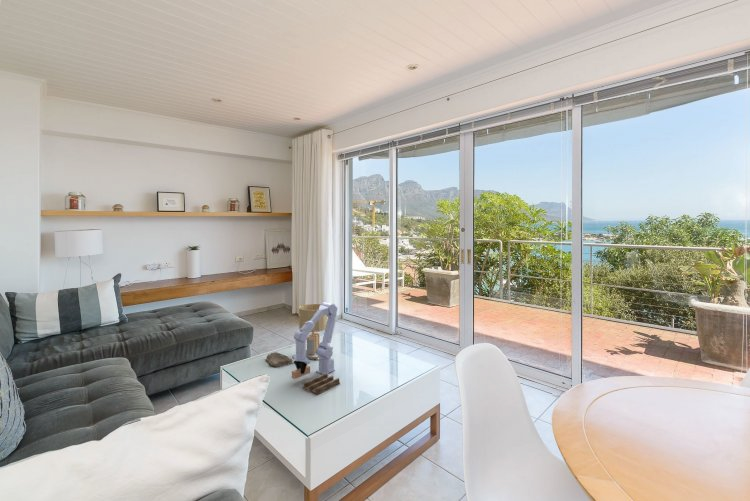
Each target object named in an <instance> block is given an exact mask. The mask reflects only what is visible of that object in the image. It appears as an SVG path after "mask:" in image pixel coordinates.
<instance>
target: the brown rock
mask: <svg viewBox="0 0 750 501" xmlns="http://www.w3.org/2000/svg"><path fill="white" fill-rule="evenodd" d="M265 359H266V360H267V361H268V362H269V363H270V364H271V365H270V364H269V363H268V362H267V361H266V362H267V363H268V364H269V365H270V366H272V365H273V367H274V366H275V368H280V367H279V366H281V367H285V366H287V365H288V364H289V365H292V364H293V359H292V357H288V356H287V355H285V354H282V353H279V352H276V351H274V352H271V353H269V354H268V355H266V358H265ZM284 365H285V366H284Z"/></svg>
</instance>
